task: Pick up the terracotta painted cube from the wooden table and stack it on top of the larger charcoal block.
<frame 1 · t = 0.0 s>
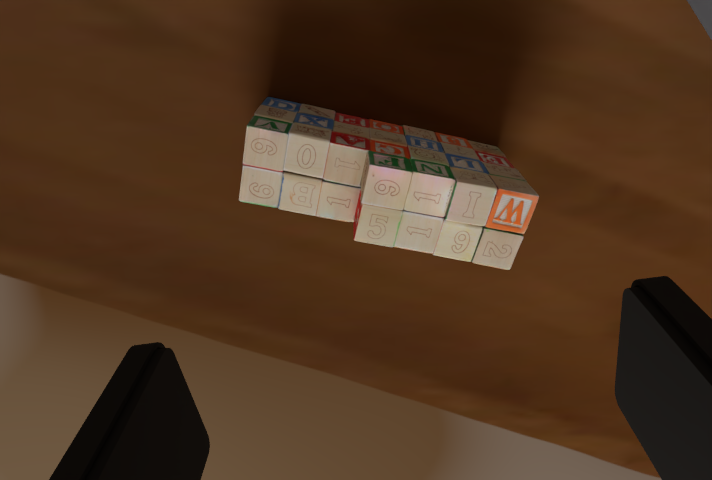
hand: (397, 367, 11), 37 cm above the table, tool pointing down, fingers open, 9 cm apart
stack of blocks: (377, 153, 48), on the table
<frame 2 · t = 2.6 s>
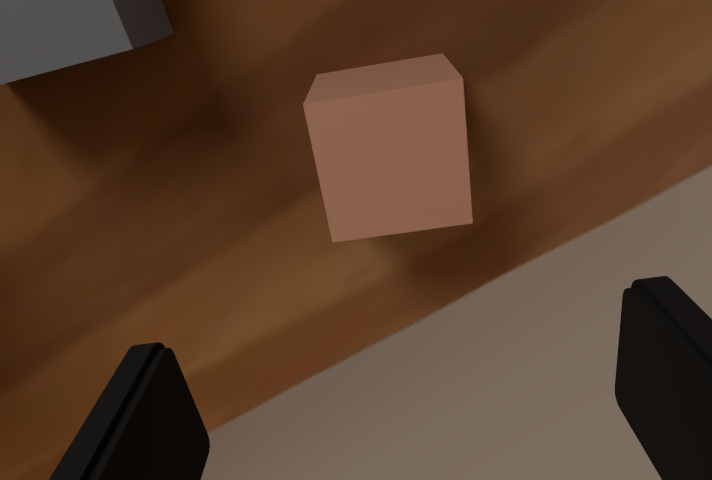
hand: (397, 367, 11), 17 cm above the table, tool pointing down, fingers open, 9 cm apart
terracotta cube: (387, 125, 26), on the table
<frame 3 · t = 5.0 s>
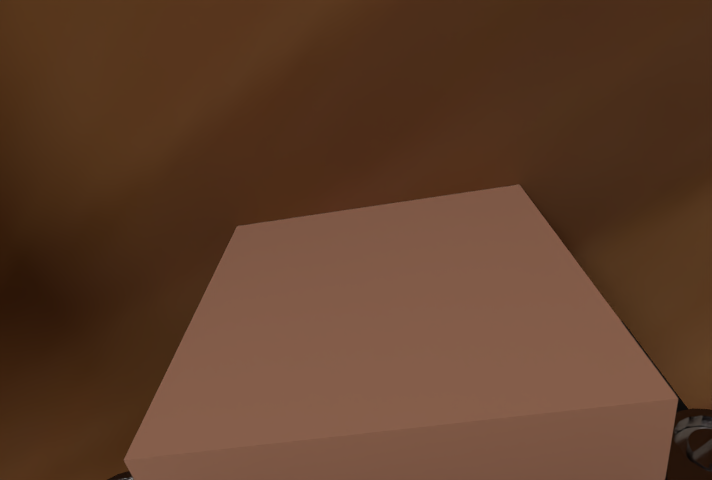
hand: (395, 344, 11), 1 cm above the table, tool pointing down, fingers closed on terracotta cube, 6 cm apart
terracotta cube: (393, 320, 12), on the table, touching gripper
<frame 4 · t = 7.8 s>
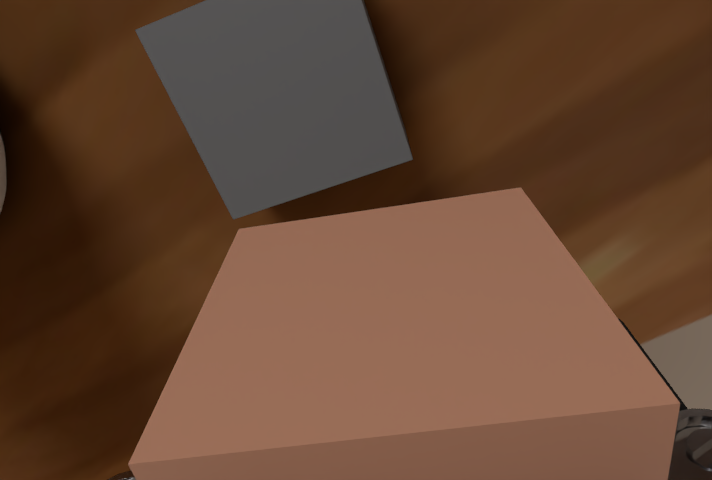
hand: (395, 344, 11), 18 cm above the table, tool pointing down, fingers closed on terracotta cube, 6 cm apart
charcoal block: (295, 76, 27), on the table
terracotta cube: (394, 322, 12), point 17 cm above the table, touching gripper
when the fingers open (7 cm above the table, at t = 11.0 s): terracotta cube drops 2 cm, resting on charcoal block.
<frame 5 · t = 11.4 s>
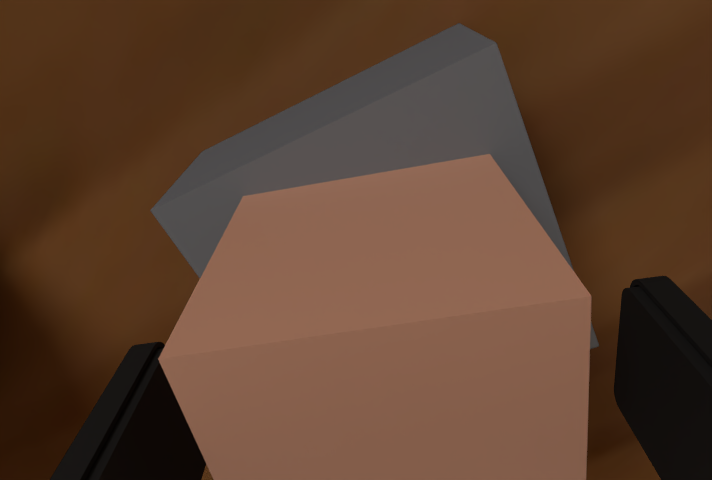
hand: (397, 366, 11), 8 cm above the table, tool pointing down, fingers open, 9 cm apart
charcoal block: (382, 206, 18), on the table, touching terracotta cube
terracotta cube: (383, 280, 14), point 5 cm above the table, touching charcoal block
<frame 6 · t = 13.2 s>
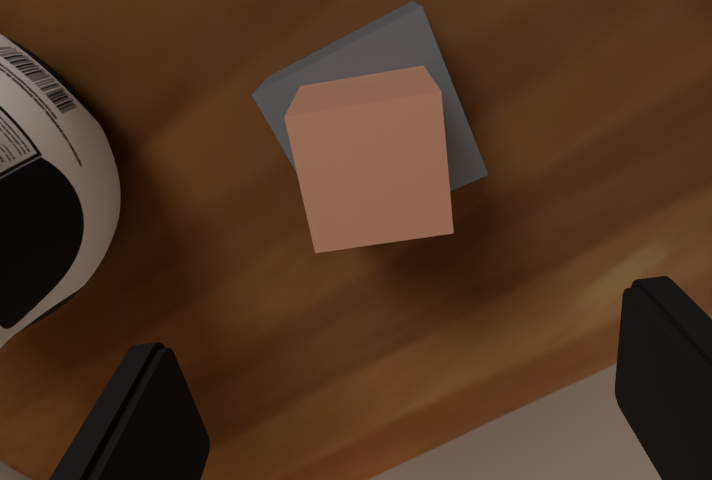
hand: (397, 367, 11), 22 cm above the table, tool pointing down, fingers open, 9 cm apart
charcoal block: (371, 112, 31), on the table
terracotta cube: (370, 136, 26), point 5 cm above the table
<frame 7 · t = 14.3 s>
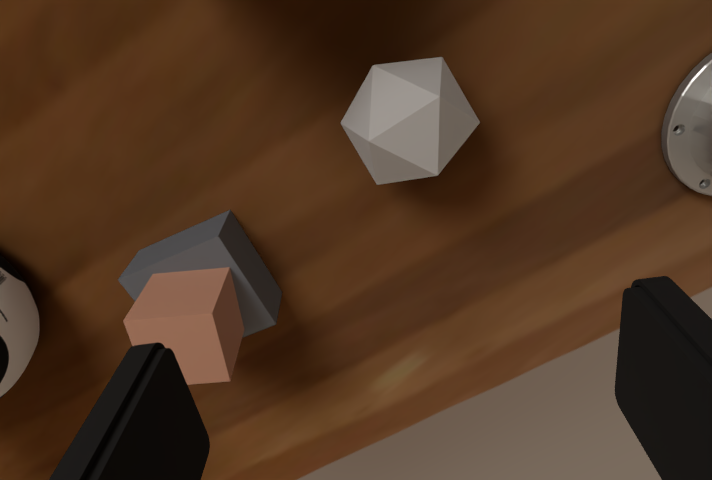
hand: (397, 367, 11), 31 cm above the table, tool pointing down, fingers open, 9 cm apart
die: (402, 108, 39), on the table
charcoal block: (213, 270, 46), on the table, touching terracotta cube
terracotta cube: (200, 302, 41), point 5 cm above the table, touching charcoal block
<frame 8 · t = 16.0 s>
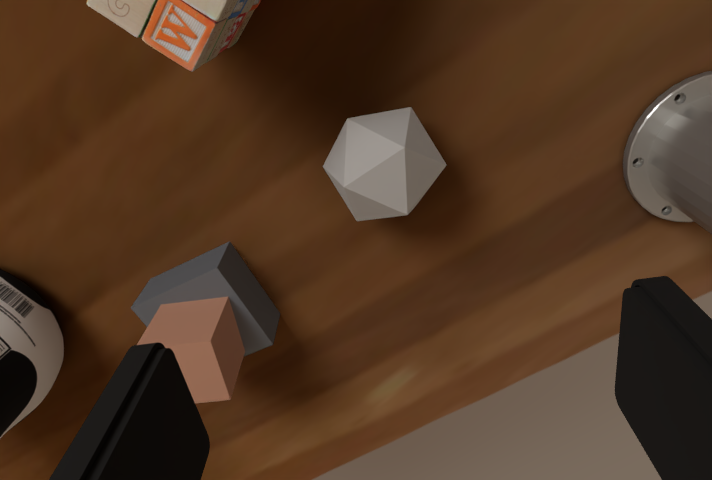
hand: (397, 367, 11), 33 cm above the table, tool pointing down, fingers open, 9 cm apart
die: (381, 149, 43), on the table
charcoal block: (217, 295, 50), on the table
terracotta cube: (204, 328, 46), point 5 cm above the table
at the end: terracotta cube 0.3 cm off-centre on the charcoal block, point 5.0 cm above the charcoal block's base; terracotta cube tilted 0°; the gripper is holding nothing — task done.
